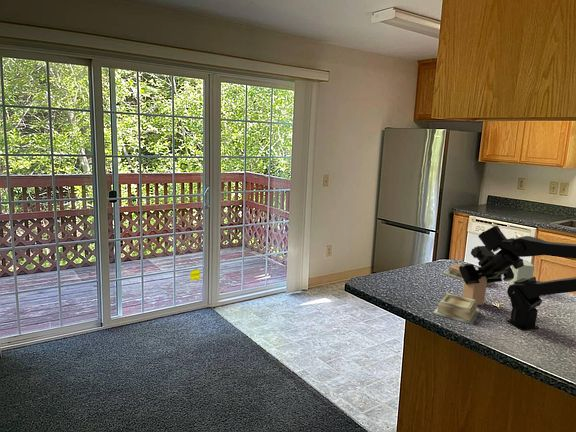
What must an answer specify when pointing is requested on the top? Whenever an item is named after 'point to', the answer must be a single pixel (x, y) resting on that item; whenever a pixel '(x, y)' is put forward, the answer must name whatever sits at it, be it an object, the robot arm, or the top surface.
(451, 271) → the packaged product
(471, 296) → the column block
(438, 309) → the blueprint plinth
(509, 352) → the top surface
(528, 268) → the small box
